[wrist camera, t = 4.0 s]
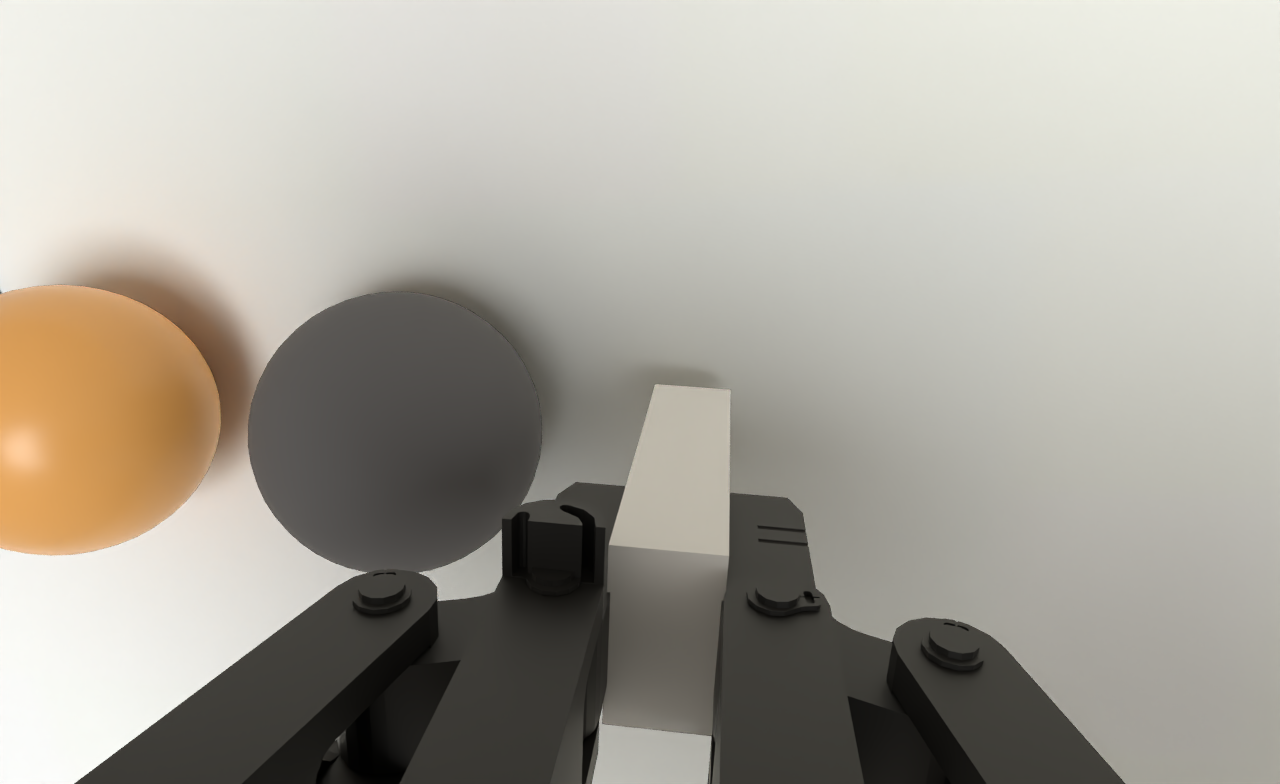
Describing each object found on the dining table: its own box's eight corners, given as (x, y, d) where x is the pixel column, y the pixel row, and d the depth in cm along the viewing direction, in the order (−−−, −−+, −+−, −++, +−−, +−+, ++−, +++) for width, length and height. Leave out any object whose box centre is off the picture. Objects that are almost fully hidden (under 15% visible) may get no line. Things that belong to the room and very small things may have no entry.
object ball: (298, 432, 17) (-35, 529, 13) (227, 538, 20) (-51, 640, 16) (183, 217, 18) (-161, 243, 14) (134, 353, 21) (-151, 406, 17)
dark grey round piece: (132, 498, 13) (223, 380, 18) (392, 687, 15) (409, 534, 20) (389, 266, 13) (409, 212, 18) (620, 494, 15) (578, 388, 20)
